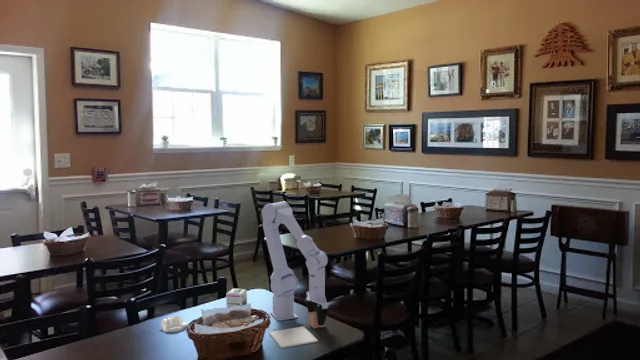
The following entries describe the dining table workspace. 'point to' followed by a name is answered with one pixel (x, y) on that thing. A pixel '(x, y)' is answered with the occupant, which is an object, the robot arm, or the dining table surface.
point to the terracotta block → (314, 320)
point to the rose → (173, 324)
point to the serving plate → (293, 337)
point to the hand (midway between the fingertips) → (316, 321)
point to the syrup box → (236, 297)
